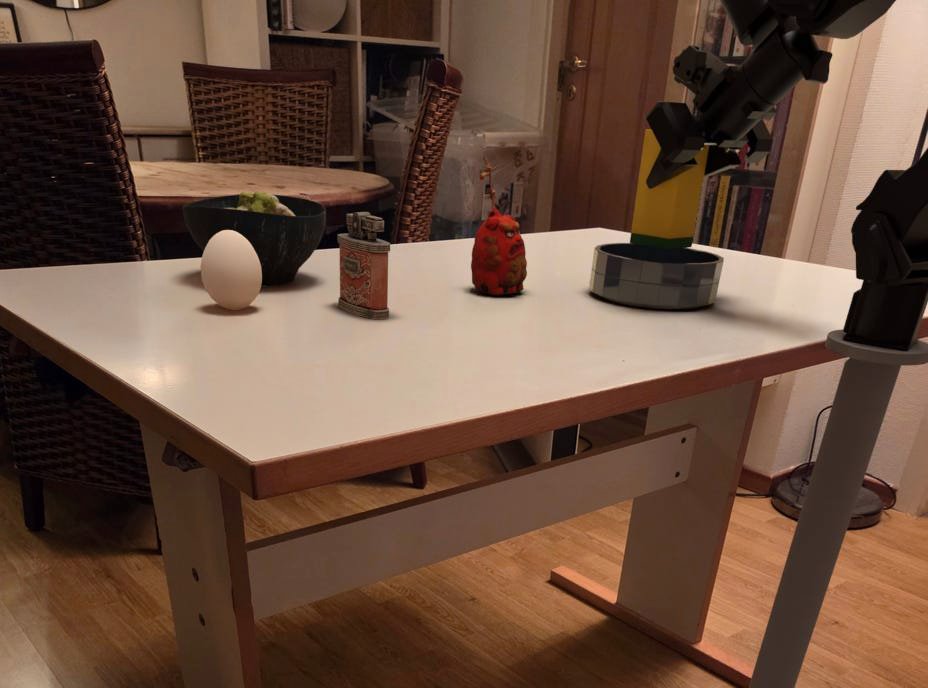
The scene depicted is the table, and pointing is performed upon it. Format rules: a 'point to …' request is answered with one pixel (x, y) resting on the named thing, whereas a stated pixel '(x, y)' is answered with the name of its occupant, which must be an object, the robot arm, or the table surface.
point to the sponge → (666, 202)
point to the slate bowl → (655, 276)
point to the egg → (231, 270)
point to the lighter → (364, 267)
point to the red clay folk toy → (498, 252)
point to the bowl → (262, 228)
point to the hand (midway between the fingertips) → (661, 185)
